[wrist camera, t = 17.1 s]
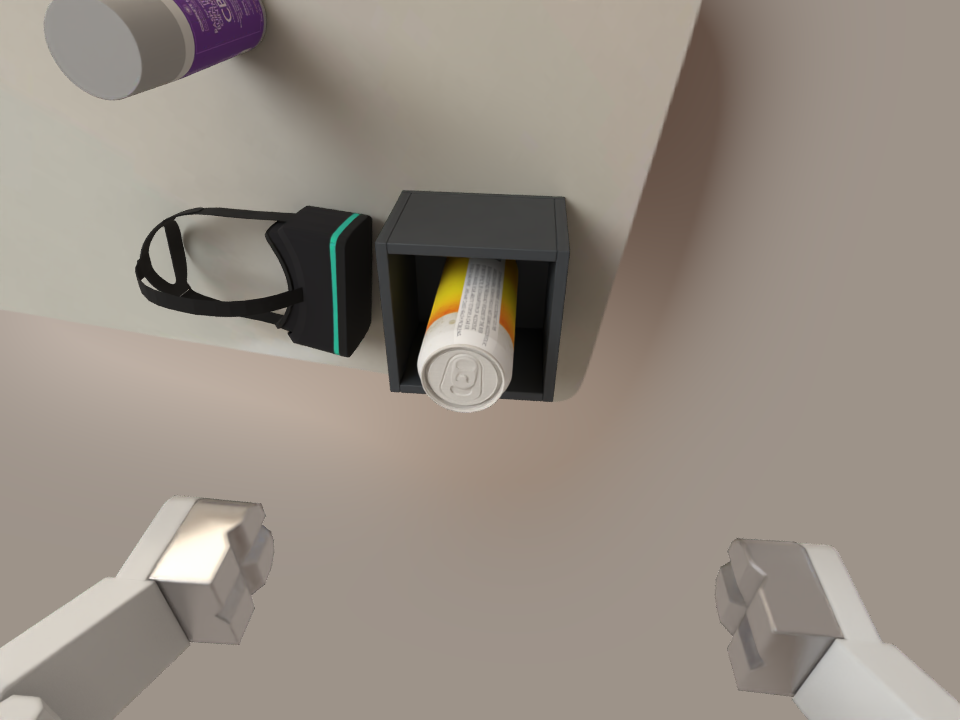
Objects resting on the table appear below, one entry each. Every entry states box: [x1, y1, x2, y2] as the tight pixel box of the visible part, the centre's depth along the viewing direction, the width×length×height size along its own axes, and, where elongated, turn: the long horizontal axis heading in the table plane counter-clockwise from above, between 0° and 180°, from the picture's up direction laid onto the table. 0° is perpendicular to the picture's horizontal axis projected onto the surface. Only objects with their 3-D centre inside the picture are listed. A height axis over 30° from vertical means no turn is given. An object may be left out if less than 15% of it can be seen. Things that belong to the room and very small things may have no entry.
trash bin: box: [375, 190, 570, 402], centre depth 45 cm, size 13×13×10 cm
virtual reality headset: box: [135, 206, 372, 357], centre depth 46 cm, size 11×17×10 cm, turn 83°
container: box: [44, 0, 266, 100], centre depth 33 cm, size 5×5×15 cm
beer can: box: [417, 257, 518, 413], centre depth 42 cm, size 6×6×15 cm
